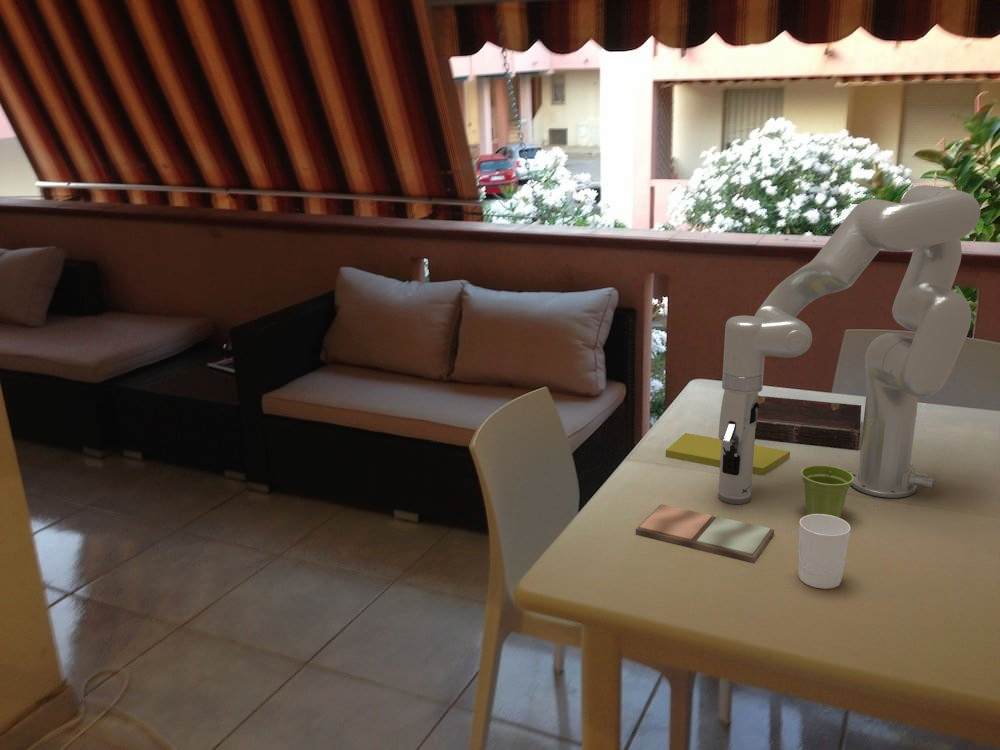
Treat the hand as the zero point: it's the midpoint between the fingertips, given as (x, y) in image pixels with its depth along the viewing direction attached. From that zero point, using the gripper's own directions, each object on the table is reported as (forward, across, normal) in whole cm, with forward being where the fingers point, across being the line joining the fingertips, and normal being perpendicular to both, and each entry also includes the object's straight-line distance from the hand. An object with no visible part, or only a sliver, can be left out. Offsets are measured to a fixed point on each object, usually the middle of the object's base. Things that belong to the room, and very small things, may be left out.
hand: (737, 466), depth 183 cm
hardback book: (+8, -44, 0) cm, 45 cm away
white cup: (+7, +24, +22) cm, 33 cm away
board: (+7, +18, 0) cm, 19 cm away
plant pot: (+7, 0, +17) cm, 18 cm away
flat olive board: (+8, -20, -8) cm, 23 cm away
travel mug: (+7, 0, 0) cm, 7 cm away
